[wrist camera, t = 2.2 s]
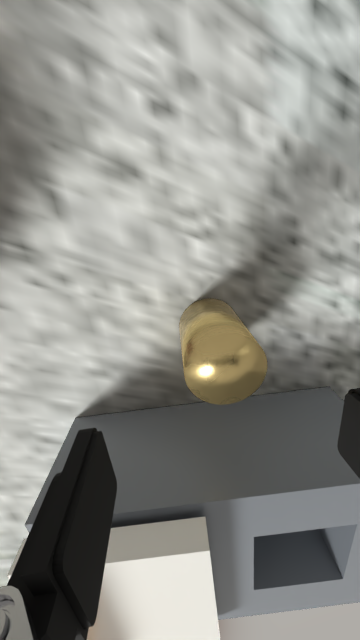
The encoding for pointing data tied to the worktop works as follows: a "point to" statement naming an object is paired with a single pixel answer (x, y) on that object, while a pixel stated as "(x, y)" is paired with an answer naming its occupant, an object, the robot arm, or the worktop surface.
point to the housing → (243, 493)
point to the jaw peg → (219, 353)
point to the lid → (156, 584)
